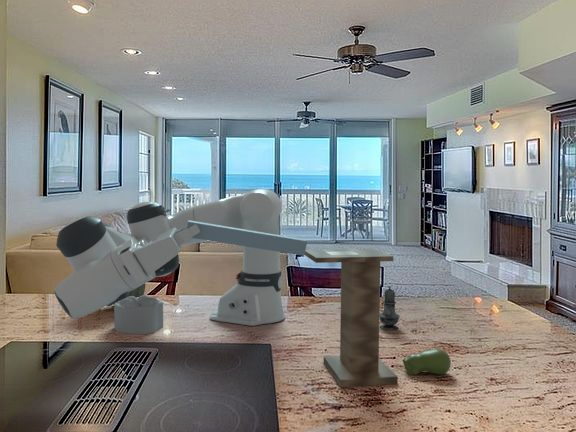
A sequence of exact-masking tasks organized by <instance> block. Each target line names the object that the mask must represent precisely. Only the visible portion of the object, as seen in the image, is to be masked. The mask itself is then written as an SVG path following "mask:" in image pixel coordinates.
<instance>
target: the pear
mask: <svg viewBox="0 0 576 432" xmlns="http://www.w3.org/2000/svg"><path fill="white" fill-rule="evenodd" d="M402 363H403V367H404V369H405V371H406V373H407V375H410V376H415V375H419V374H420V373H421V372H427V373H431V374H434V375H437V376H438V375H439V376H440V375H441V376H442V375H444V374H446V373H447V372H449V371H450V369H451V365H452V362H451V358H450V356H449V354H448V353H447V351H446V350H443V349H441V348H440V349H439V348H432V349H425V350H422V351H420V352H418V353H412V354H409V355H407V356H406V358H403V359H402Z"/></svg>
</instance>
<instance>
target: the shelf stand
mask: <svg viewBox="0 0 576 432" xmlns="http://www.w3.org/2000/svg"><path fill="white" fill-rule="evenodd" d="M305 257H307V258H308V259H310V260H311V261H313V263H316V264H322V263H324V264H325V263H327V264H329V263H340V265H341V266H340V267H341V268H340V271H341V272H340V329H339V330H340V332H339V333H340V339H339V340H340V341H339V343H340V344H339V347H340V348H339V349H340V350H339V351H340V352H339V353H340V354H339V355H328V356H327V355H325V356H323V365H324V366H325V367H326V368H327V370H328V371H329V373H330V374H331V376H332V378H333V379H334V380H335V381H336V383H337V384H338V386H339V387H340V388H351V387H353V388H354V387H367V386H368V387H369V386H384V385H396V384H398V382H399V381H398V379H399V378H398V375H397V374H396V373H395V372H393V370H392V369H391V368H390V367H389V366H387V364H385V363H384V362H383V361H382V359H380V358H379V355H380V354H379V353H380V352H379V351H380V317H379V314H380V310H381V309H380V305H381V304H380V303H381V302H380V299H381V297H380V296H381V262H394V256H393V255H392V254H389V253H386V252H383V251H380V250H378V249H374V248H346V249H344V248H342V249H341V248H338V249H335V248H334V249H306V250H305Z"/></svg>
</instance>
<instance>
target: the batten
mask: <svg viewBox="0 0 576 432" xmlns="http://www.w3.org/2000/svg"><path fill="white" fill-rule="evenodd" d="M194 224H196V225H197V226H198V228H199V229H200V232H199V233H198V234H196V235H195V236H193V237H192V238H196V239H202V240H208V242H209V241H210V242H216V243H223V244H228V245H229V244H230V245H235V246H241V247H243V246H246V247H252V248H258V249H265V250H271V251H277V252H280V253H284V254H291V255H297V256H303V257H304V256H305V250H307V245H308V241H307V240H305V239H303V238H299V237H291V236H285V235H280V234H279V235H275V234H269V233H263V232H257V231H251V230H245V229H239V228H233V227H227V226H221V225H215V224H209V223H203V222H196V221H190V220H188V225H187V229H188V228H189V227H191V226H192V225H194ZM305 257H306V256H305Z"/></svg>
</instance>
